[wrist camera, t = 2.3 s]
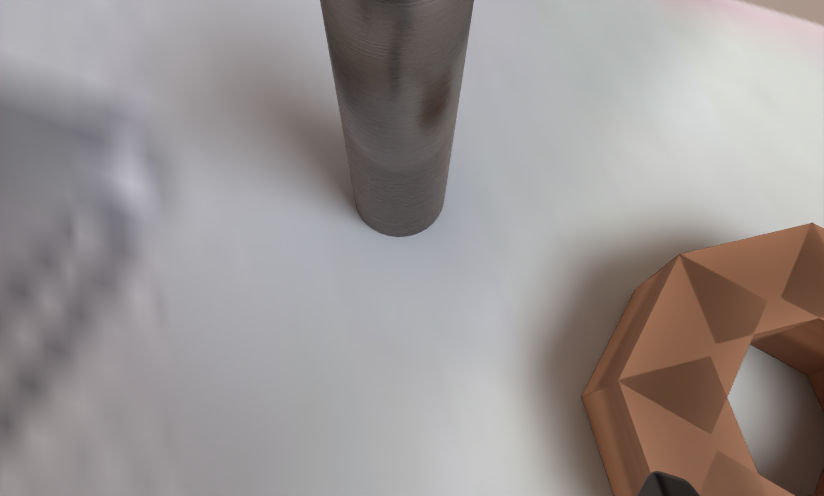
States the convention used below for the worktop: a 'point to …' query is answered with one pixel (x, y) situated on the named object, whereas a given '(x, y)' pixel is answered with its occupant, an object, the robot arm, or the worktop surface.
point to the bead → (706, 360)
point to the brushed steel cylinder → (398, 102)
